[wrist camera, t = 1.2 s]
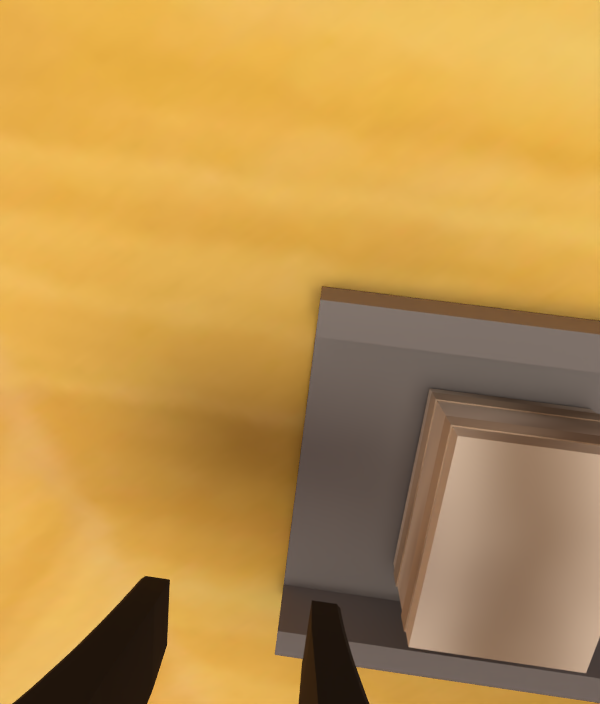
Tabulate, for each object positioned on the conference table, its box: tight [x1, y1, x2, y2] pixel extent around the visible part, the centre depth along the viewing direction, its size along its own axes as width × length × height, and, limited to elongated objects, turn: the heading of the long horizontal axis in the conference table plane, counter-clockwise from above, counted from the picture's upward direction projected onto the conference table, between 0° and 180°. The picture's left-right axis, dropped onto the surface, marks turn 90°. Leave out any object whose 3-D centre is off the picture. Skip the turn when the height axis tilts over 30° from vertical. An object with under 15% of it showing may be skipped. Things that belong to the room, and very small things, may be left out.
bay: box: [275, 287, 600, 703], centre depth 17 cm, size 21×14×3 cm
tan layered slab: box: [393, 388, 600, 673], centre depth 16 cm, size 6×8×4 cm
